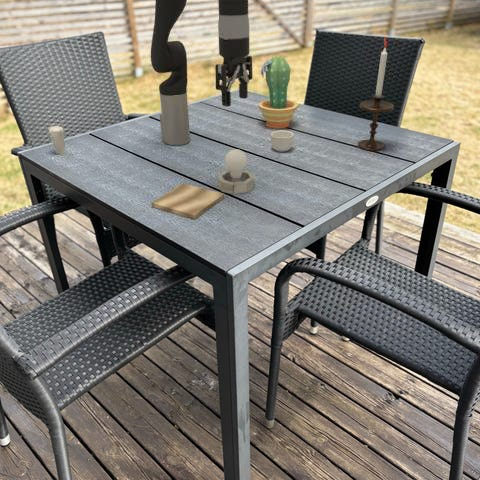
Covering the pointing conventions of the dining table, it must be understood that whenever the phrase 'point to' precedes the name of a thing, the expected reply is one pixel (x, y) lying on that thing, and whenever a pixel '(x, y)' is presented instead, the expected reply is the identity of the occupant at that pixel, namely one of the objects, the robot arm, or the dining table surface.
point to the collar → (236, 183)
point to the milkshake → (58, 139)
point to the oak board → (188, 201)
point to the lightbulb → (235, 164)
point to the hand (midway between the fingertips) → (235, 101)
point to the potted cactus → (277, 94)
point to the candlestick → (376, 108)
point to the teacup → (282, 140)
